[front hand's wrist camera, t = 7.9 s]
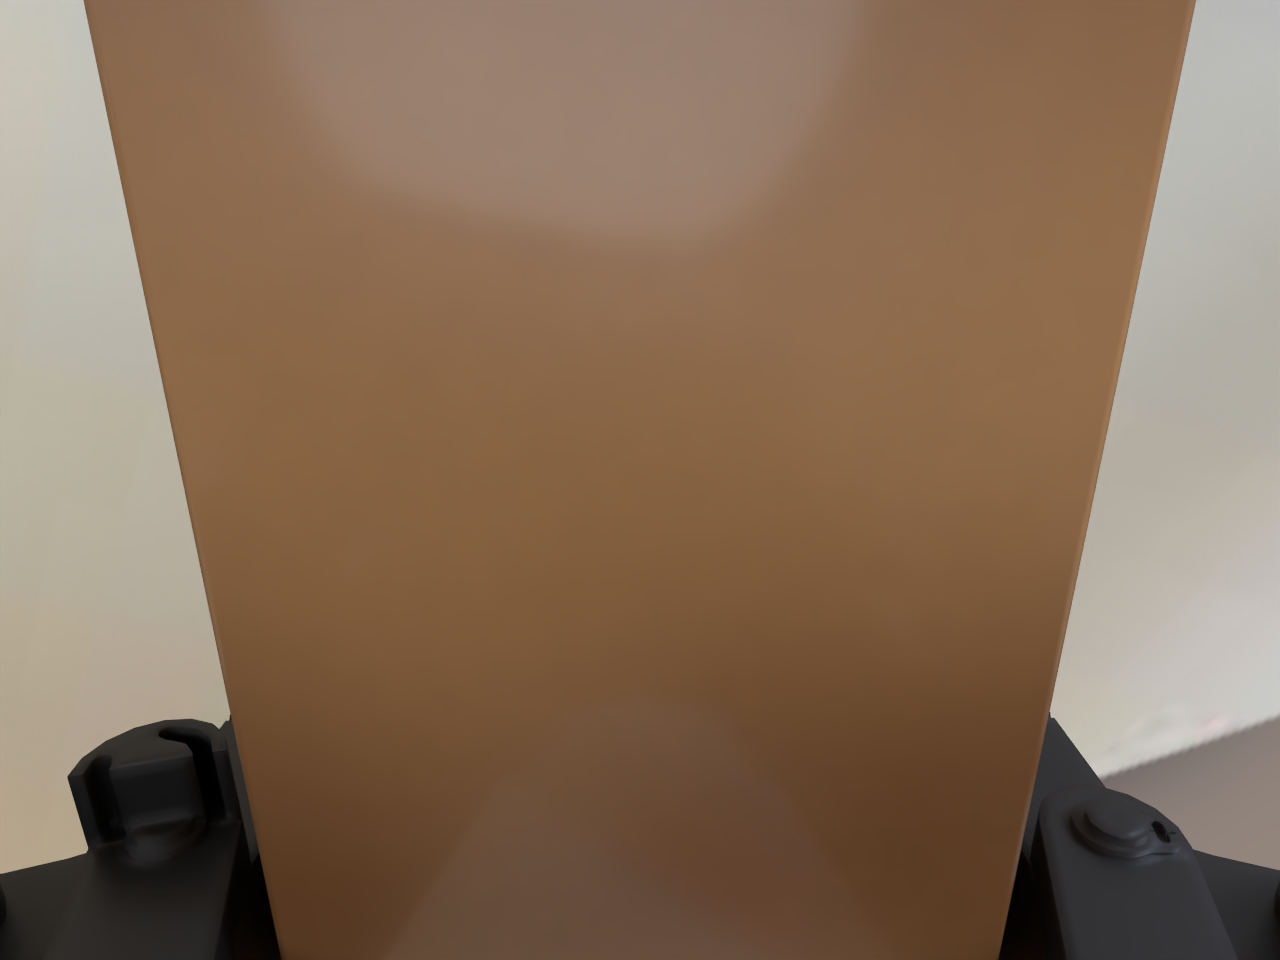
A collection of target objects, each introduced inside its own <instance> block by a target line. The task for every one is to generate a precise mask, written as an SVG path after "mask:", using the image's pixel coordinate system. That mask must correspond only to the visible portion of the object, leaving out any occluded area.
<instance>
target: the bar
mask: <svg viewBox="0 0 1280 960" xmlns="http://www.w3.org/2000/svg"><path fill="white" fill-rule="evenodd" d="M1195 2H1196V0H84V4H85V9H86V14H87V19H88V24H89V29H90V33H91V38H92V43H93V48H94V53H95V58H96V62H97V67H98V72H99V77H100V82H101V87H102V92H103V96H104V101H105V106H106V111H107V116H108V121H109V126H110V130H111V135H112V140H113V145H114V150H115V155H116V160H117V164H118V169H119V174H120V179H121V184H122V189H123V193H124V198H125V203H126V208H127V213H128V218H129V223H130V227H131V232H132V237H133V242H134V247H135V252H136V257H137V261H138V266H139V271H140V276H141V281H142V286H143V291H144V295H145V300H146V305H147V310H148V315H149V320H150V325H151V329H152V334H153V339H154V344H155V349H156V354H157V358H158V363H159V368H160V373H161V378H162V383H163V388H164V392H165V397H166V402H167V407H168V412H169V417H170V422H171V426H172V431H173V436H174V441H175V446H176V451H177V456H178V460H179V465H180V470H181V475H182V480H183V485H184V489H185V494H186V499H187V504H188V509H189V514H190V519H191V523H192V528H193V533H194V538H195V543H196V548H197V553H198V557H199V562H200V567H201V572H202V577H203V582H204V587H205V591H206V596H207V601H208V606H209V611H210V616H211V620H212V625H213V630H214V635H215V640H216V645H217V650H218V654H219V659H220V664H221V669H222V674H223V679H224V684H225V688H226V693H227V698H228V703H229V708H230V713H231V718H232V722H233V727H234V732H235V737H236V742H237V747H238V752H239V756H240V761H241V766H242V771H243V776H244V781H245V785H246V790H247V795H248V800H249V805H250V810H251V815H252V819H253V824H254V829H255V834H256V839H257V844H258V849H259V853H260V858H261V863H262V868H263V873H264V878H265V883H266V887H267V892H268V897H269V902H270V907H271V912H272V916H273V921H274V926H275V931H276V936H277V941H278V946H279V950H280V955H281V960H998V958H999V954H1000V949H1001V944H1002V939H1003V934H1004V929H1005V924H1006V920H1007V915H1008V910H1009V905H1010V900H1011V895H1012V890H1013V886H1014V881H1015V876H1016V871H1017V866H1018V861H1019V856H1020V852H1021V847H1022V842H1023V837H1024V832H1025V827H1026V823H1027V818H1028V813H1029V808H1030V803H1031V798H1032V793H1033V789H1034V784H1035V779H1036V774H1037V769H1038V764H1039V759H1040V755H1041V750H1042V745H1043V740H1044V735H1045V730H1046V725H1047V721H1048V716H1049V711H1050V706H1051V701H1052V696H1053V691H1054V687H1055V682H1056V677H1057V672H1058V667H1059V662H1060V658H1061V653H1062V648H1063V643H1064V638H1065V633H1066V628H1067V624H1068V619H1069V614H1070V609H1071V604H1072V599H1073V594H1074V590H1075V585H1076V580H1077V575H1078V570H1079V565H1080V560H1081V556H1082V551H1083V546H1084V541H1085V536H1086V531H1087V527H1088V522H1089V517H1090V512H1091V507H1092V502H1093V497H1094V493H1095V488H1096V483H1097V478H1098V473H1099V468H1100V463H1101V459H1102V454H1103V449H1104V444H1105V439H1106V434H1107V429H1108V425H1109V420H1110V415H1111V410H1112V405H1113V400H1114V395H1115V391H1116V386H1117V381H1118V376H1119V371H1120V366H1121V362H1122V357H1123V352H1124V347H1125V342H1126V337H1127V332H1128V328H1129V323H1130V318H1131V313H1132V308H1133V303H1134V298H1135V294H1136V289H1137V284H1138V279H1139V274H1140V269H1141V264H1142V260H1143V255H1144V250H1145V245H1146V240H1147V235H1148V231H1149V226H1150V221H1151V216H1152V211H1153V206H1154V201H1155V197H1156V192H1157V187H1158V182H1159V177H1160V172H1161V167H1162V163H1163V158H1164V153H1165V148H1166V143H1167V138H1168V133H1169V129H1170V124H1171V119H1172V114H1173V109H1174V104H1175V100H1176V95H1177V90H1178V85H1179V80H1180V75H1181V70H1182V66H1183V61H1184V56H1185V51H1186V46H1187V41H1188V36H1189V32H1190V27H1191V22H1192V17H1193V12H1194V7H1195Z"/></svg>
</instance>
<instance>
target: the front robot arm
mask: <svg viewBox="0 0 1280 960" xmlns="http://www.w3.org/2000/svg"><path fill="white" fill-rule="evenodd" d="M67 778H68V781H69V785H70V788H71V791H72V795H73V798H74V801H75V805H76V808H77V811H78V815H79V818H80V821H81V825H82V828H83V832H84V835H85V838H86V842H87V845H88V851H87V853H85V854H82V855H78V856H75V857H72V858H68V859H64V860H60V861H56V862H51V863H47V864H43V865H38V866H34V867H29V868H25V869H21V870H16V871H12V872H8V873H3V874H0V960H281V955H280V950H279V946H278V941H277V936H276V931H275V926H274V921H273V916H272V912H271V907H270V902H269V897H268V892H267V887H266V883H265V878H264V873H263V868H262V863H261V858H260V853H259V849H258V844H257V839H256V834H255V829H254V824H253V819H252V815H251V810H250V805H249V800H248V795H247V790H246V785H245V781H244V776H243V771H242V766H241V761H240V756H239V752H238V747H237V742H236V737H235V732H234V727H233V722H232V718H231V714H230V720H229V721H225V723H224V724H223V725H222V727H221V728H220V729H218V728H217V727H216V726H215V725H214V724H212V723H208V722H203V721H199V720H194V719H179V720H164V721H160V722H156V723H152V724H148V725H144V726H140V727H136V728H133V729H131V730H129V731H127V732H125V733H122V734H120V735H118V736H116V737H114V738H111V739H109V740H107V741H105V742H104V743H102V744H101V745H100V746H98V747H97V748H95V749H94V750H93V751H91V752H90V753H88V754H87V755H86V756H84V757H83V758H82V759H81V760H80V761H79V763H78V764H77V765H76V766H75V768H74V769H73V770H72V771H71V773H70V774H69V775H68V777H67ZM998 960H1280V870H1275V869H1271V868H1266V867H1262V866H1257V865H1253V864H1249V863H1244V862H1240V861H1235V860H1231V859H1227V858H1222V857H1218V856H1214V855H1210V854H1207V853H1204V852H1200V851H1197V850H1193V849H1192V847H1191V845H1190V844H1189V843H1188V841H1187V839H1186V838H1185V837H1184V835H1183V834H1182V832H1181V831H1180V829H1179V828H1178V827H1177V826H1176V825H1175V824H1174V823H1172V822H1171V821H1170V820H1169V819H1168V818H1166V817H1165V816H1164V815H1163V814H1162V813H1160V812H1159V811H1158V810H1157V809H1155V808H1153V807H1151V806H1149V805H1148V804H1146V803H1144V802H1142V801H1140V800H1138V799H1136V798H1134V797H1132V796H1130V795H1128V794H1124V793H1121V792H1117V791H1114V790H1111V789H1107V788H1106V787H1105V786H1104V785H1103V783H1102V782H1101V781H1100V779H1099V778H1098V777H1097V775H1096V774H1095V773H1094V771H1093V770H1092V768H1091V767H1090V766H1089V764H1088V763H1087V762H1086V760H1085V759H1084V758H1083V756H1082V755H1081V754H1080V752H1079V751H1078V750H1077V748H1076V747H1075V745H1074V744H1073V743H1072V741H1071V740H1070V739H1069V737H1068V736H1067V735H1066V733H1065V732H1064V731H1063V729H1062V728H1061V727H1060V725H1059V724H1058V722H1057V721H1056V720H1055V718H1051V717H1050V712H1049V716H1048V721H1047V725H1046V730H1045V735H1044V740H1043V745H1042V750H1041V755H1040V759H1039V764H1038V769H1037V774H1036V779H1035V784H1034V789H1033V793H1032V798H1031V803H1030V808H1029V813H1028V818H1027V823H1026V827H1025V832H1024V837H1023V842H1022V847H1021V852H1020V856H1019V861H1018V866H1017V871H1016V876H1015V881H1014V886H1013V890H1012V895H1011V900H1010V905H1009V910H1008V915H1007V920H1006V924H1005V929H1004V934H1003V939H1002V944H1001V949H1000V954H999V958H998Z"/></svg>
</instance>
